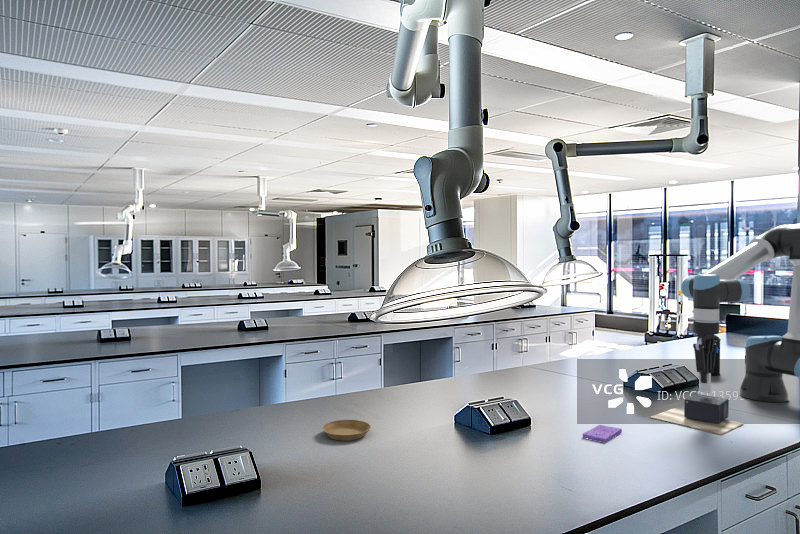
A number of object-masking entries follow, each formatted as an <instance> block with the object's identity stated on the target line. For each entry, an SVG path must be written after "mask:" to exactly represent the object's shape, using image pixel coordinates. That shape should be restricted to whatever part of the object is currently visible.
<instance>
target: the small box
mask: <svg viewBox="0 0 800 534" xmlns="http://www.w3.org/2000/svg"><path fill="white" fill-rule="evenodd" d="M729 401H730V400H729V398H723V397H718V396H713V395H712V396H711V395H704V394H701V393H693V394H692V395H691V396H688V397H687V398H685V399H684V401H683V402H684V403H683V404H684V409H683V410H684V417H686V418H691V419H696V420H702V421H707V422H712V423H717V424H719V423H721V422H722V421H723V420H725V419H726V420H727V419H728V418H729V410H730V409H729V406H730V403H729Z"/></svg>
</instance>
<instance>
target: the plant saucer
mask: <svg viewBox="0 0 800 534" xmlns="http://www.w3.org/2000/svg"><path fill="white" fill-rule="evenodd" d="M370 429H371V424H370V423H368V422H366V421H363V420H358V419H340V420H335V421H329V422H327V423H325V424H323V425H322V427H321V430H322V431H323V433H324V434H325V435H327V436H328V437H329V438H330V439H332V440H334V441H354V440H359V439H362V438H363V437H364V436H365V435H367V434H368V433H369V431H370Z"/></svg>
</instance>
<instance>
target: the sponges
mask: <svg viewBox="0 0 800 534" xmlns="http://www.w3.org/2000/svg"><path fill="white" fill-rule="evenodd" d="M622 429H623V428H621V427H613V426H608V425H603V424H598V425H597V426H594V427H593V428H591V429H589V430H587V431H584V432H583V433H582V439H585V438H588V439H587V440H589V439H592V440H591V441H594V440H597V441H596V442H598V441H601V442H600V443H603V442H606V443H608V442H609V441H611V440H613V439H614V438H616V437H617V436H619V435H620V433H621V434H622V432H623V430H622ZM618 434H619V435H618ZM615 436H616V437H615ZM613 437H614V438H613ZM612 438H613V439H612ZM610 439H611V440H610ZM607 441H608V442H607Z"/></svg>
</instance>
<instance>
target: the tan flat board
mask: <svg viewBox="0 0 800 534" xmlns="http://www.w3.org/2000/svg"><path fill="white" fill-rule="evenodd" d="M649 418H650V419H653V420H657V421H661V420H662V421H661V422H665V421H667V422H666V423H669V422H671V424H673V423H676V424H675V425H677V424H680V425H679V426H682V425H684V426H683V427H686V426H689V427H688V428H690V427H693V428H692V429H694V428H696V429H695V430H698V429H699V431H701V432H702V431H703V432H707V433H711V434H715V435H719V436H722V435H724V434H726V433H729V432H731V431H733V430H736V429H737V428H739V427H741V426H743V425H744V423H743V422H739V421H734V420H729V419H727V418H726V419H725V420H723V421H722V422H721V423H719V424H717V423H712V422H707V421H702V420H696V419H691V418H686V417H684V409H679V408H677V407H674V408H670V409H667V410H665V411H663V412H660V413H657V414H654V415H650V417H649Z"/></svg>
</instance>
